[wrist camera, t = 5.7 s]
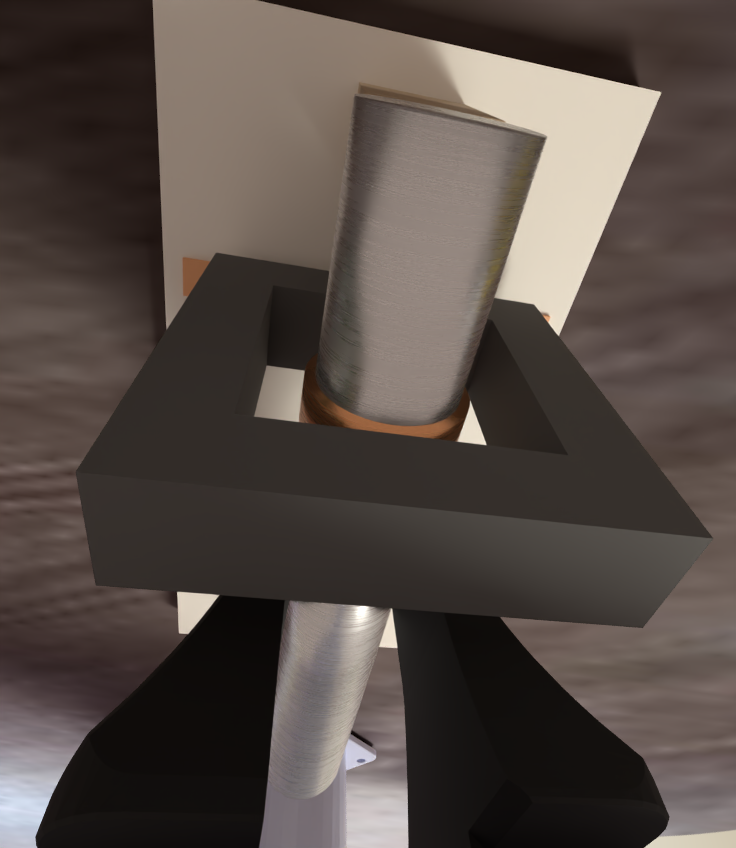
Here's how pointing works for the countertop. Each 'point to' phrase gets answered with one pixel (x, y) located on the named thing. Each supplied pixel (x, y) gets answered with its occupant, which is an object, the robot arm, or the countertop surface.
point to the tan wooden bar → (421, 100)
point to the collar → (377, 476)
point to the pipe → (394, 359)
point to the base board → (326, 149)
